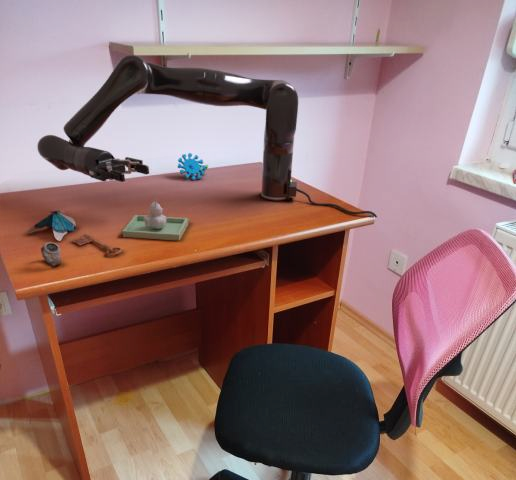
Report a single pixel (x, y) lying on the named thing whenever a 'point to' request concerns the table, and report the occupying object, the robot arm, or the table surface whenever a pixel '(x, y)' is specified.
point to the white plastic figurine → (155, 217)
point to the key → (83, 239)
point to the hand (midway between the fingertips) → (136, 173)
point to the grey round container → (51, 253)
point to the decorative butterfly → (56, 224)
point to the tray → (169, 232)
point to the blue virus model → (192, 166)
